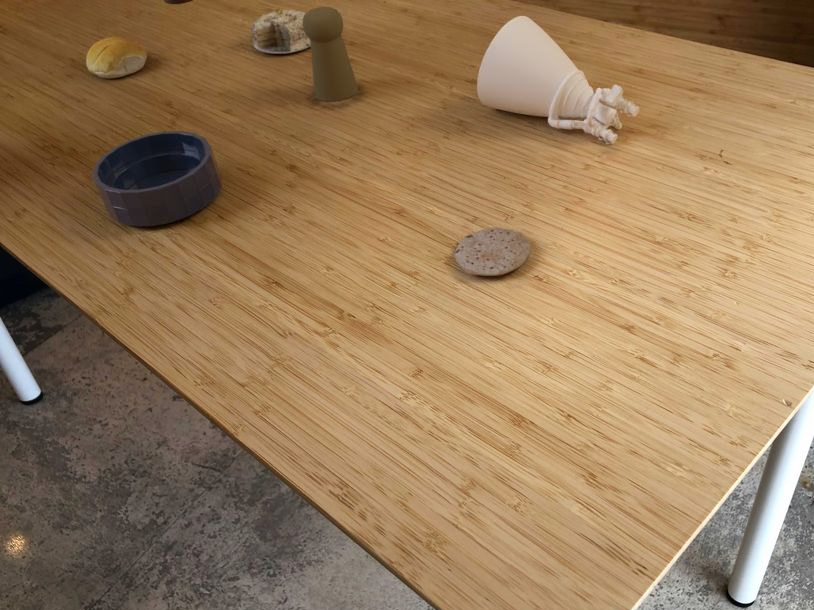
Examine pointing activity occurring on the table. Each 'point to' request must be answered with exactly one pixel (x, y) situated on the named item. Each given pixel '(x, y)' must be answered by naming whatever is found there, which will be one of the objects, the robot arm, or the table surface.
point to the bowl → (157, 178)
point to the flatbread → (492, 251)
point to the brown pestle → (177, 1)
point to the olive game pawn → (329, 55)
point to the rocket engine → (545, 82)
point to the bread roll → (115, 58)
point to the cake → (280, 32)
